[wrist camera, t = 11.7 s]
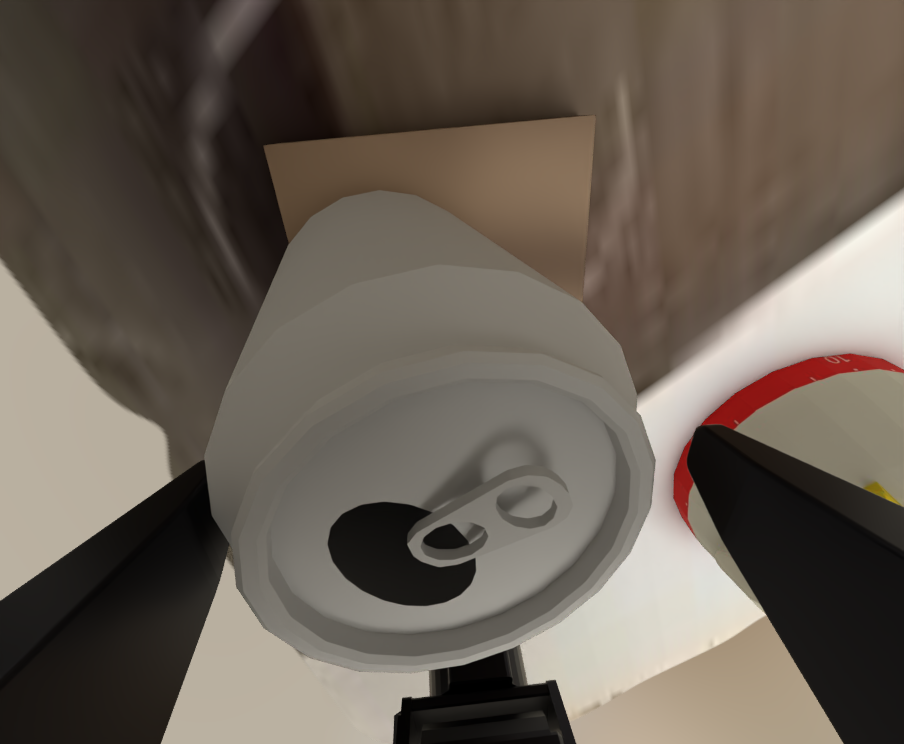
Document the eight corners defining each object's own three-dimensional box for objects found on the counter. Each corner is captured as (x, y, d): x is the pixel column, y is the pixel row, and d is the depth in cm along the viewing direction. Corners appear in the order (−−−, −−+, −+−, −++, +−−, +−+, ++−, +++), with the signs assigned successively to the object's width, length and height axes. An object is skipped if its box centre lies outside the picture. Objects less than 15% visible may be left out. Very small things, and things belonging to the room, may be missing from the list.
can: (230, 283, 15) (7, 601, 5) (398, 136, 14) (564, 140, 4) (376, 414, 19) (424, 749, 9) (516, 304, 18) (758, 531, 8)
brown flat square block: (560, 366, 22) (575, 393, 20) (342, 390, 22) (334, 419, 20) (572, 115, 17) (595, 114, 15) (283, 142, 17) (263, 145, 14)
